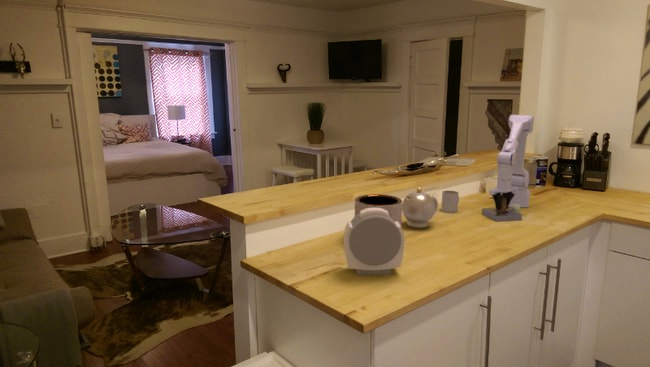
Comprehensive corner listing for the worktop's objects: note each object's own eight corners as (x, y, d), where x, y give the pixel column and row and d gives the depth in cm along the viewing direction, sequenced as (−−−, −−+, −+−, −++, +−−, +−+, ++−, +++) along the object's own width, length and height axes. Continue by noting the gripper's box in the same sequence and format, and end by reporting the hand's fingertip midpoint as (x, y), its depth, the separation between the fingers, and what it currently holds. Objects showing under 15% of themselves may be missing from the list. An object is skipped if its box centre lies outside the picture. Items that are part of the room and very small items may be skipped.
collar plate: (505, 212, 203) (506, 207, 203) (521, 220, 192) (522, 214, 191) (481, 213, 201) (482, 208, 201) (496, 221, 190) (496, 215, 189)
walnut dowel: (501, 214, 199) (502, 197, 197) (507, 216, 195) (508, 198, 194) (494, 215, 197) (496, 197, 196) (500, 217, 194) (502, 199, 192)
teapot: (414, 233, 174) (416, 192, 171) (393, 224, 186) (394, 186, 182) (448, 226, 183) (450, 187, 180) (425, 218, 195) (427, 181, 191)
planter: (363, 250, 156) (364, 207, 153) (347, 234, 173) (348, 195, 170) (409, 245, 161) (411, 203, 158) (389, 230, 178) (390, 192, 174)
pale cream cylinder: (516, 212, 204) (517, 203, 203) (521, 214, 200) (521, 205, 200) (509, 212, 203) (510, 204, 202) (513, 214, 200) (514, 206, 199)
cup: (438, 210, 207) (439, 192, 205) (451, 207, 213) (452, 188, 211) (451, 213, 201) (452, 194, 199) (464, 210, 207) (465, 191, 205)
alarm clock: (398, 265, 143) (401, 205, 138) (404, 276, 134) (406, 212, 130) (343, 266, 142) (343, 205, 138) (345, 277, 134) (346, 213, 130)
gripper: (509, 176, 199) (507, 205, 202) (484, 178, 193) (482, 208, 196) (522, 178, 193) (519, 208, 196) (497, 181, 187) (494, 212, 190)
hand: (501, 209), depth 196 cm, fingers closed on walnut dowel, 3 cm apart
